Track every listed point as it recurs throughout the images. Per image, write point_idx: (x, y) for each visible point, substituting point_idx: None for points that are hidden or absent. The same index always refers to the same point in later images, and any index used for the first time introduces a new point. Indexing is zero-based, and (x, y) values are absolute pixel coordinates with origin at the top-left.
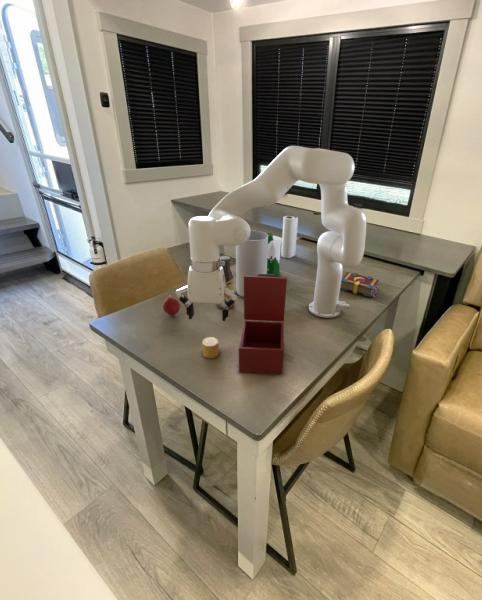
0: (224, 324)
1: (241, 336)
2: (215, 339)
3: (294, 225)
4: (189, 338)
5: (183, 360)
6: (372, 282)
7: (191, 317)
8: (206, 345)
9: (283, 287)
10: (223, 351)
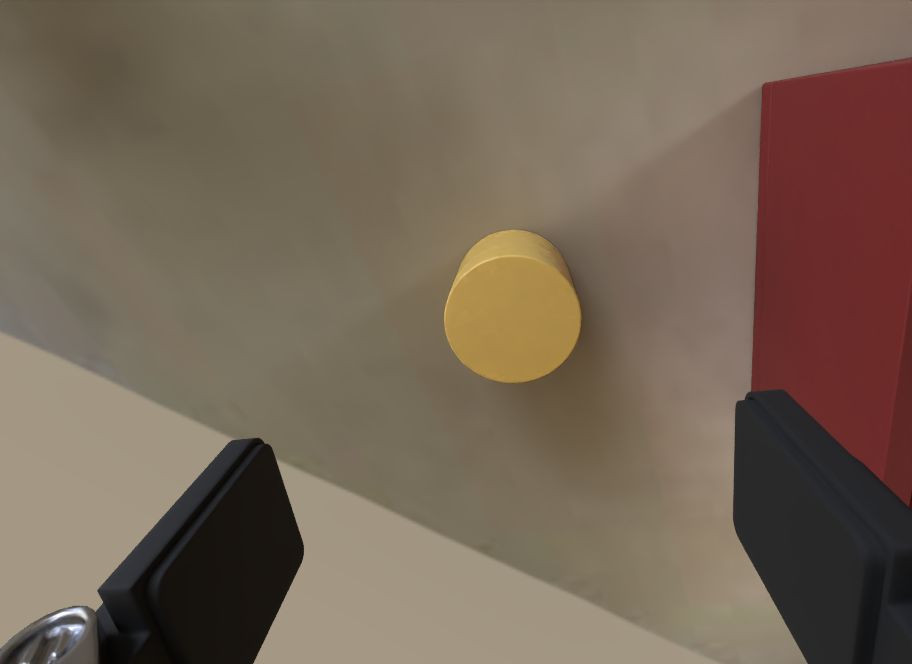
0: None
1: (894, 426)
2: (547, 284)
3: None
4: (282, 141)
5: (365, 383)
6: None
7: (295, 567)
8: (497, 376)
9: None
10: (598, 246)
